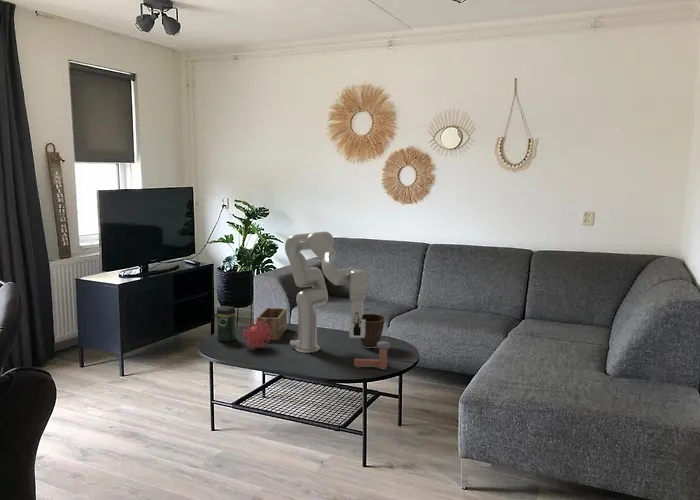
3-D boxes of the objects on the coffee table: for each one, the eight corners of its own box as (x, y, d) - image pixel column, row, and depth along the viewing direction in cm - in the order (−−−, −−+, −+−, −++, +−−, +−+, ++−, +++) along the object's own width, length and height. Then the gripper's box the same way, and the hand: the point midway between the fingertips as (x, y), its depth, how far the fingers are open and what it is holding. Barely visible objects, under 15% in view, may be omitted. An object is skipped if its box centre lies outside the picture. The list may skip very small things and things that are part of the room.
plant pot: (387, 350, 294) (388, 320, 292) (359, 352, 291) (359, 322, 289) (379, 342, 308) (380, 313, 306) (353, 343, 305) (353, 314, 303)
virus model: (275, 344, 301) (274, 317, 299) (266, 353, 286) (266, 325, 284) (248, 343, 303) (247, 315, 301) (238, 352, 289) (238, 323, 286)
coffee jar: (238, 338, 311) (237, 305, 308) (230, 342, 303) (230, 308, 300) (222, 336, 313) (221, 303, 311) (214, 340, 306) (214, 307, 303)
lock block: (349, 337, 266) (349, 322, 265) (351, 333, 272) (351, 319, 271) (364, 337, 265) (364, 323, 264) (365, 333, 271) (365, 319, 270)
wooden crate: (256, 339, 310) (256, 317, 308) (266, 327, 332) (266, 307, 330) (278, 340, 309) (278, 318, 307) (286, 328, 331) (286, 308, 329)
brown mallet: (353, 368, 267) (353, 344, 265) (354, 363, 274) (355, 339, 272) (389, 370, 266) (389, 345, 264) (389, 365, 273) (390, 341, 271)
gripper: (351, 292, 275) (351, 328, 277) (347, 300, 258) (347, 338, 260) (367, 292, 274) (367, 328, 276) (364, 300, 257) (364, 338, 259)
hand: (357, 333), depth 268 cm, fingers closed on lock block, 6 cm apart
